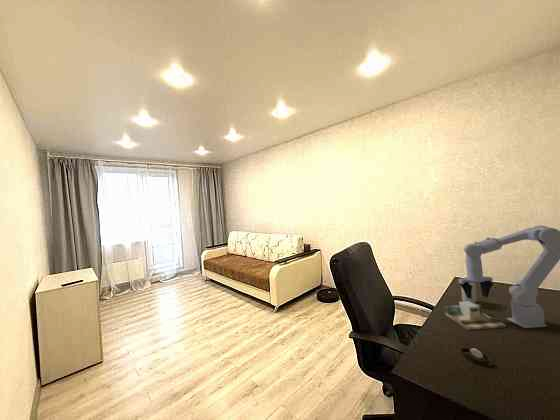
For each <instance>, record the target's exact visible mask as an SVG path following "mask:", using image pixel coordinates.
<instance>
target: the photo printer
mask: <svg viewBox="0 0 560 420" xmlns="http://www.w3.org/2000/svg"><path fill="white" fill-rule="evenodd" d="M469 284H470V285H472V286H473V287H472V291H471V294H472V298H471V299H469V298H467V297H466V294H465V292H464V290H463V288H462V286H461V285H460V290H461V291H460V292H461V302H462V301H470V302H471V303H473V304H477V301H478V300H477V299H478V297H477V291H476V290H477V289H476V282H475V283H469Z"/></svg>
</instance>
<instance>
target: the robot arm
mask: <svg viewBox="0 0 560 420" xmlns="http://www.w3.org/2000/svg"><path fill="white" fill-rule="evenodd" d="M526 240H529V241H536V242H539V244H540V245H541V247H542V249H543V251H542V252H541V253H540V255H538V257H537V259H536V260H535V261H534V262H533V264H532V266H531V267H530V268H529V269H528V271H527V272H526V274H525V275H524V276H523V278H522V279H520V280H518V281H517V282H516V283H515V284H513V285H511V286H509V288H508V293H509V294H510V296H512V297H511V299H510V306H511V316H512V317H506V320H507V321H510V322H512V323H514V324H515V325H517V326H520V327H522V328H524V329H529V328H531V329H533V328H544V327H545V328H546V327H548V325H547V324H545V323H546V322H545V313H544V309H543V307H542V306H541V305H540V304H539V303H537V297H538V295H539V287H540V286H541V285H542V284H543V282H544V281H545V280H546V278H547V277H548V275H549V274H550V273H551V272H552V271H553V269H554V268H555V266H556V265H557V264H558V263H559V261H560V230H559V229H557V228H555V227H550V226H549V227H548V226H545V225H535V226H534V227H527V228H524V229H522V230H519V231H516V232H513V233H509V234H508V235H505V236H502V237H499V238H497V237H496V238H495V237H489V236H488V237H485V239H484V240H480V241H478V242H477V241H474V242H473V243H469V244H466V245H465V246H464V248H463V251H464V253H465V264H466V266H465V267H466V276H465V277H462V278H458V284H459V285H460V287H461V286H462V288H463V290H464V292H465V294H466V297H467V298H469V299H471V298H472V294H471V291H472V287H473V286H472V285H470V284H469V283H475V284H476V283H478V284H479V286H480V288H481V289H480V290H481V294H482V297H484V298H489V293H490V291H491V289H492V288H493V286H494V280H493V277H491V276H484V275H483V274H484V272H483V264H482V263H483V262H482V257H481V256H482V255H484V254H488V253H492V252H495V251H499V250H501V249H502V247H503V246H505V245H509V244H513V243H517V242H521V241H526Z"/></svg>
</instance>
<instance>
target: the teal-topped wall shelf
mask: <svg viewBox="0 0 560 420" xmlns="http://www.w3.org/2000/svg"><path fill="white" fill-rule="evenodd" d="M475 305H477V306H479V311H480V319H473V320H470V319H468V318H466V317H465V316H463V315H461V314H460V305H459V304H457V305H445V312H444V315H446V317H448V318H450V319H451V320H452V321H454V322H456V323H457V324H458V325H461V326H462V327H463V328H464V329H466V330H467V331H472V330H486V329H498V328H499V329H500V328H501V329H502V328H507V326H506V324H505V323H503V322H501V321H500V318H498V317H492V316H489V315H488V314H486V313H484V312H482V305H481V304H479V303H475Z"/></svg>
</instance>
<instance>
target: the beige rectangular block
mask: <svg viewBox="0 0 560 420" xmlns="http://www.w3.org/2000/svg"><path fill="white" fill-rule="evenodd" d="M458 303H459V304H458V305H460V314H461V315H463V316H465V317H466V318H468V319H470V320H473V319H480V311H479V306H477V305H475V304H476V303H475V304H473V303H471V302H470V301H462V300H461V301H458Z"/></svg>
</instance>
